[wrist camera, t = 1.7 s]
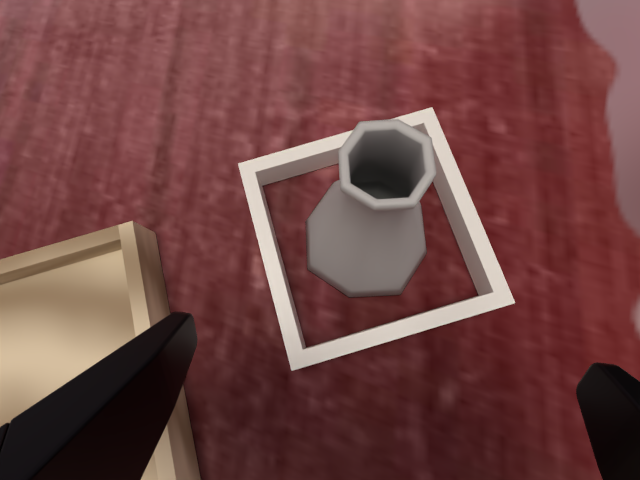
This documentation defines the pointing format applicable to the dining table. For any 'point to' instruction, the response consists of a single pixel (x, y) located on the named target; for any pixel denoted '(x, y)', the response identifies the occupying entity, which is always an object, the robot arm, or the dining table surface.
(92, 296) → the serving tray
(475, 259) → the white square frame
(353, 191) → the flask
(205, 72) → the dining table surface
